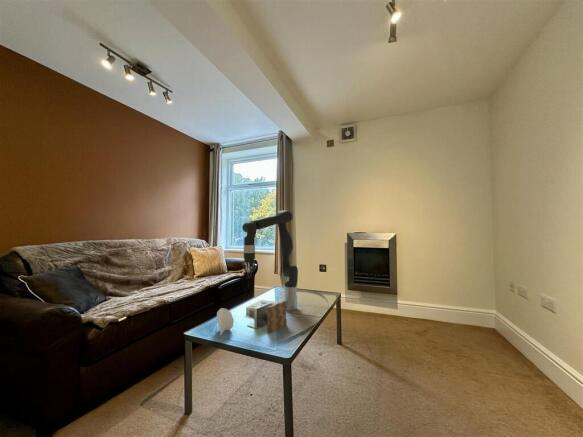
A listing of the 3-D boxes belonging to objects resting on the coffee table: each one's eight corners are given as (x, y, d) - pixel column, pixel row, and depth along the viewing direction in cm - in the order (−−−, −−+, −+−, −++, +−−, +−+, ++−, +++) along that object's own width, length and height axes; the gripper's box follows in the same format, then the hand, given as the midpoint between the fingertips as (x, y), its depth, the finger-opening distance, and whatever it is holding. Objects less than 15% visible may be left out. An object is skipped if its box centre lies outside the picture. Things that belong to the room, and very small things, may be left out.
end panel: (284, 324, 150) (284, 300, 151) (286, 325, 150) (286, 300, 150) (267, 333, 137) (267, 307, 138) (269, 334, 137) (269, 307, 137)
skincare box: (264, 309, 163) (245, 307, 169) (265, 317, 162) (245, 315, 169) (279, 301, 182) (261, 299, 188) (279, 308, 181) (261, 306, 188)
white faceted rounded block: (229, 338, 132) (230, 310, 132) (210, 337, 132) (211, 310, 133) (235, 330, 142) (235, 304, 143) (217, 330, 142) (218, 304, 143)
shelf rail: (251, 315, 167) (251, 309, 167) (286, 325, 149) (286, 318, 150) (249, 315, 166) (249, 309, 166) (285, 326, 148) (285, 319, 148)
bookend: (261, 319, 158) (261, 301, 159) (270, 322, 154) (270, 303, 154) (247, 326, 148) (247, 306, 148) (256, 329, 143) (256, 308, 144)
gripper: (260, 251, 159) (260, 278, 158) (246, 250, 167) (246, 276, 166) (252, 252, 153) (252, 280, 152) (238, 251, 160) (238, 277, 160)
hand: (249, 277), depth 159 cm, fingers closed
